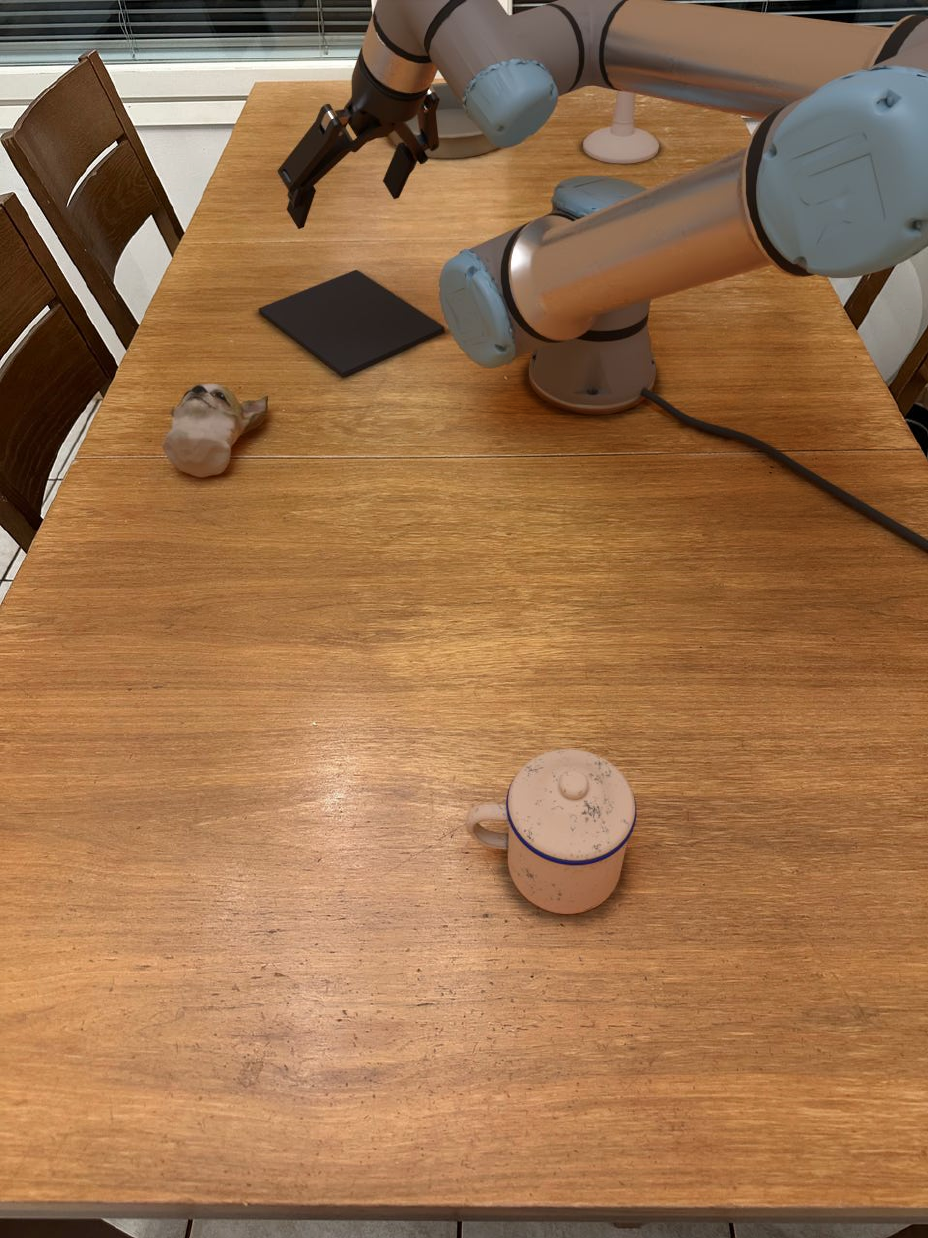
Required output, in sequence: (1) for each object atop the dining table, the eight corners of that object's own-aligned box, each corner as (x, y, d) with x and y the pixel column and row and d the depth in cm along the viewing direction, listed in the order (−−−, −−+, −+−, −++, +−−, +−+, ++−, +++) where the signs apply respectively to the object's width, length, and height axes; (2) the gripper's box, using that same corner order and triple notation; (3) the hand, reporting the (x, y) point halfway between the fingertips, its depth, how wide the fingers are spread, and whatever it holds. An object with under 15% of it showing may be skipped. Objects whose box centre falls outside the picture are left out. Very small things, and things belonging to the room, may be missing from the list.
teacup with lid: (621, 814, 75) (639, 729, 67) (625, 923, 69) (645, 845, 60) (471, 805, 76) (469, 719, 67) (462, 912, 70) (458, 833, 61)
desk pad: (444, 332, 123) (444, 326, 123) (343, 378, 117) (342, 372, 116) (357, 274, 134) (356, 269, 133) (259, 313, 127) (258, 308, 127)
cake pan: (545, 123, 169) (546, 96, 165) (473, 174, 155) (472, 146, 152) (430, 98, 178) (429, 71, 174) (352, 144, 164) (349, 116, 161)
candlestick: (571, 138, 164) (585, -71, 142) (639, 128, 167) (663, -79, 144) (600, 168, 156) (619, -50, 134) (671, 157, 158) (701, -59, 136)
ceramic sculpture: (127, 419, 97) (174, 346, 107) (147, 487, 103) (189, 412, 113) (228, 425, 96) (266, 351, 106) (242, 494, 102) (276, 418, 113)
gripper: (475, 11, 99) (412, 152, 118) (267, 56, 88) (235, 203, 107) (512, 71, 99) (443, 203, 118) (308, 123, 88) (268, 259, 107)
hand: (344, 203), depth 112 cm, fingers open, 13 cm apart
